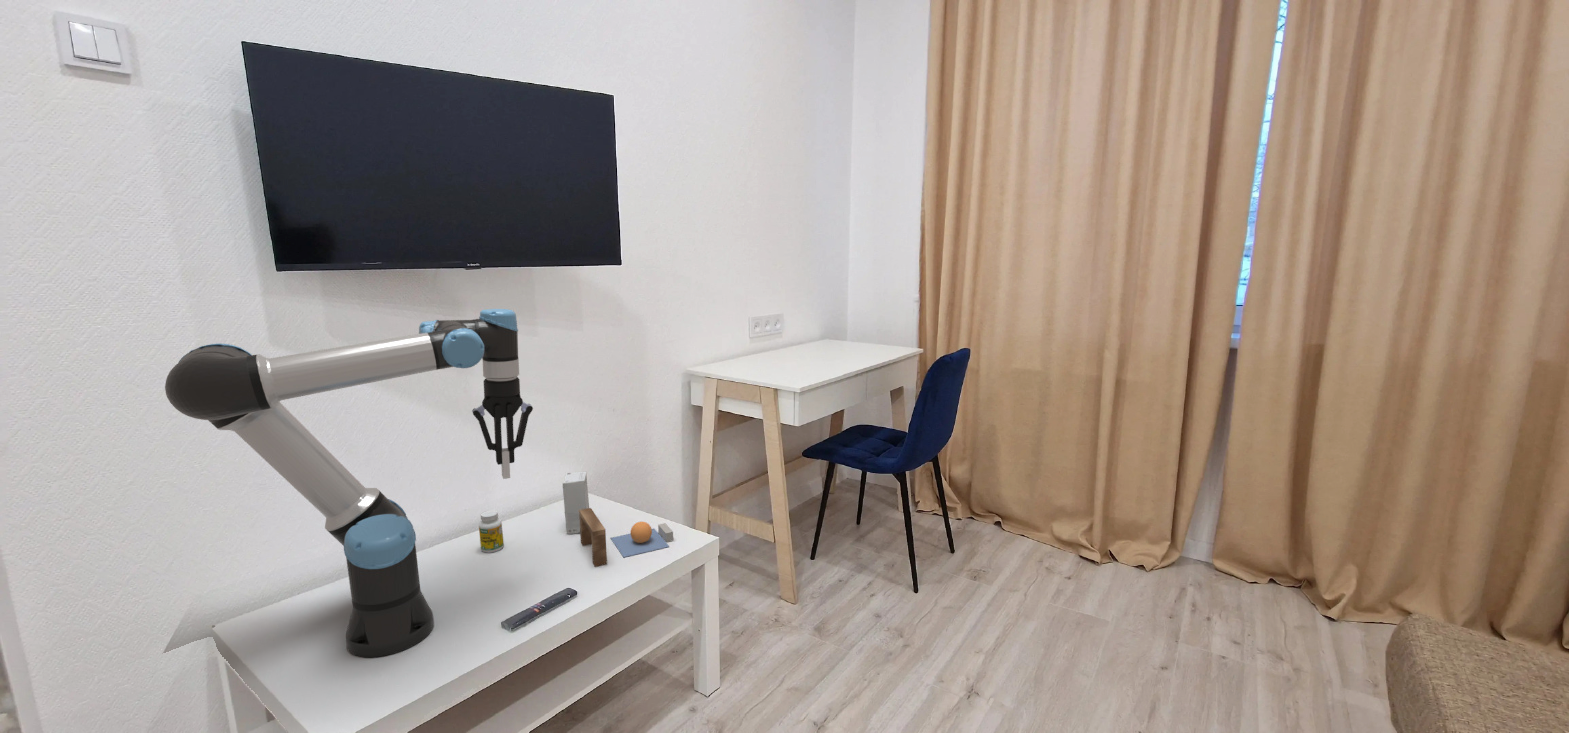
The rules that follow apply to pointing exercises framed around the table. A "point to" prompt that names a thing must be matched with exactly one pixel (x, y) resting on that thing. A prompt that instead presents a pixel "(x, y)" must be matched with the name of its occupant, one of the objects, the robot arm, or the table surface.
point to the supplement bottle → (490, 532)
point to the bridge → (593, 536)
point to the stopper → (665, 532)
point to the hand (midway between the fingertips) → (506, 476)
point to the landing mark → (638, 544)
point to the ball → (641, 532)
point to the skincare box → (574, 499)
